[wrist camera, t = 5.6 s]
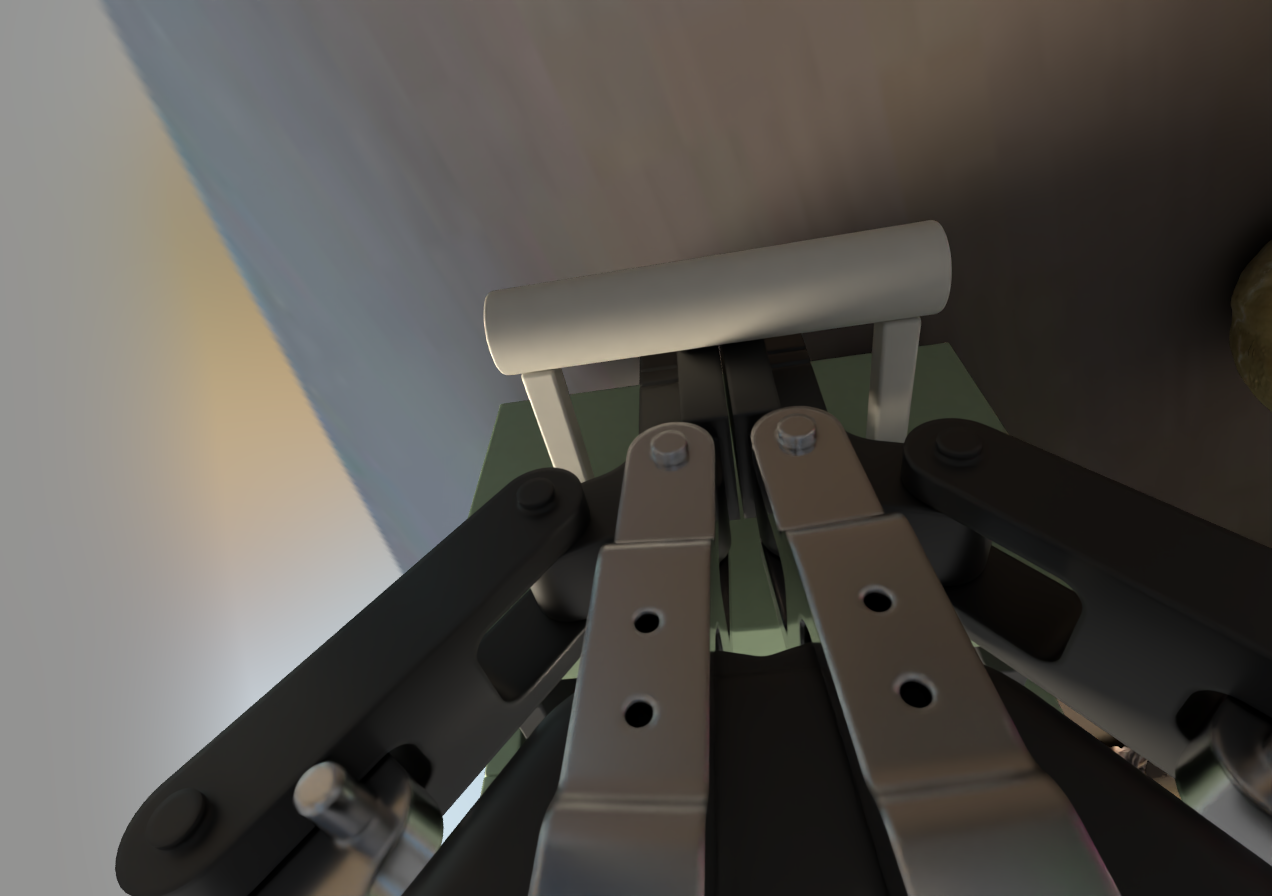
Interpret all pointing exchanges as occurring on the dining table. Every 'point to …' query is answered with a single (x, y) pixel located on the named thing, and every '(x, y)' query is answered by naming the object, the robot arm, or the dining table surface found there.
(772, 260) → the green pull-out drawer
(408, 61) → the dining table surface
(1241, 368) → the fennel bulb
